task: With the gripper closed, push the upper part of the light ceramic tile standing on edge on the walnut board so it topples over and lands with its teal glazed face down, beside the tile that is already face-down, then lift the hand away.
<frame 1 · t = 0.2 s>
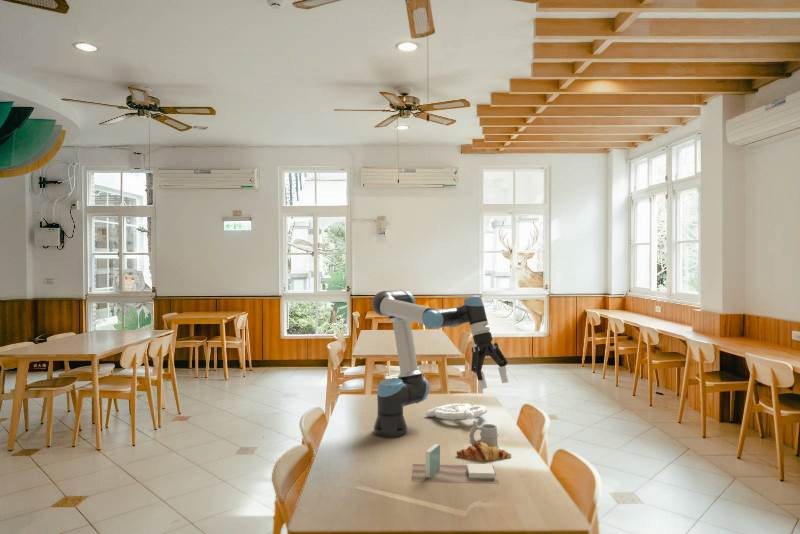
hand: (494, 385, 197), 28 cm above the table, fingers open, 13 cm apart
croissant: (484, 460, 192), on the table
board: (454, 476, 177), on the table
tile: (433, 472, 178), point 1 cm above the table, touching board
tile done: (480, 473, 177), point 1 cm above the table, touching board
mug: (483, 450, 202), on the table
white flat coiled piece: (458, 418, 245), on the table
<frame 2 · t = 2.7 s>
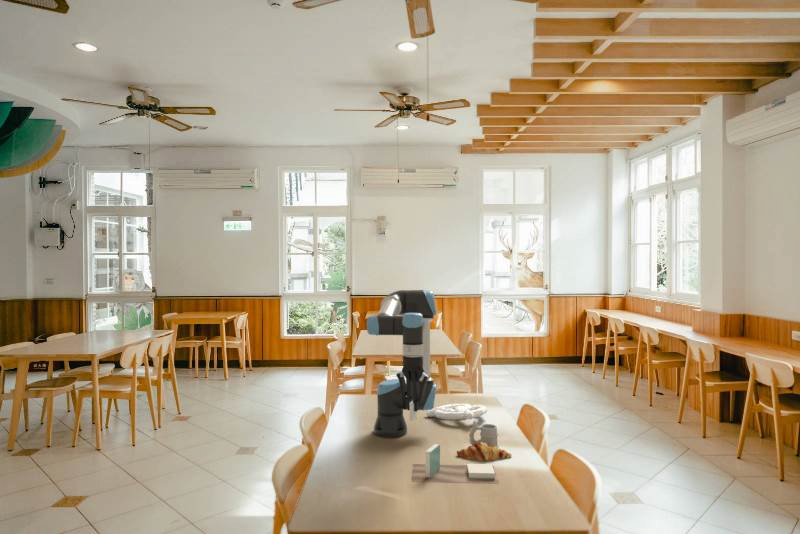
hand: (413, 419, 181), 19 cm above the table, fingers closed
nothing on the table moved.
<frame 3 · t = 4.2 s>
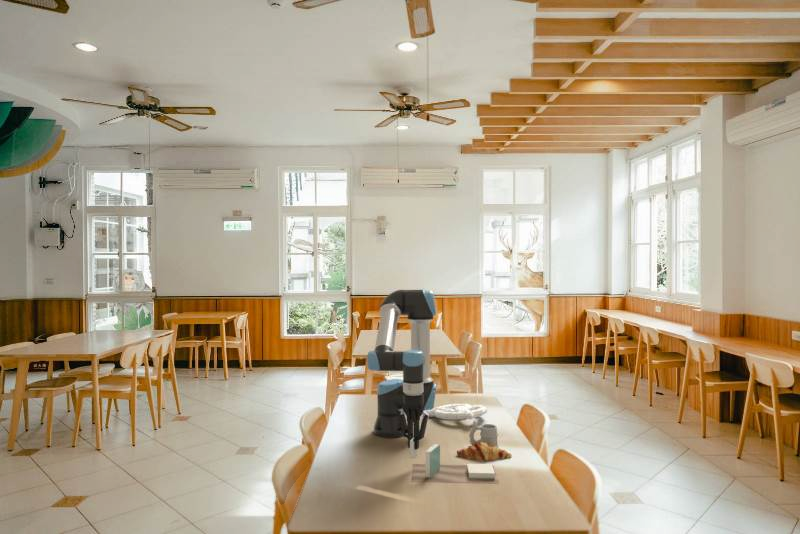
hand: (413, 457, 181), 5 cm above the table, fingers closed
nothing on the table moved.
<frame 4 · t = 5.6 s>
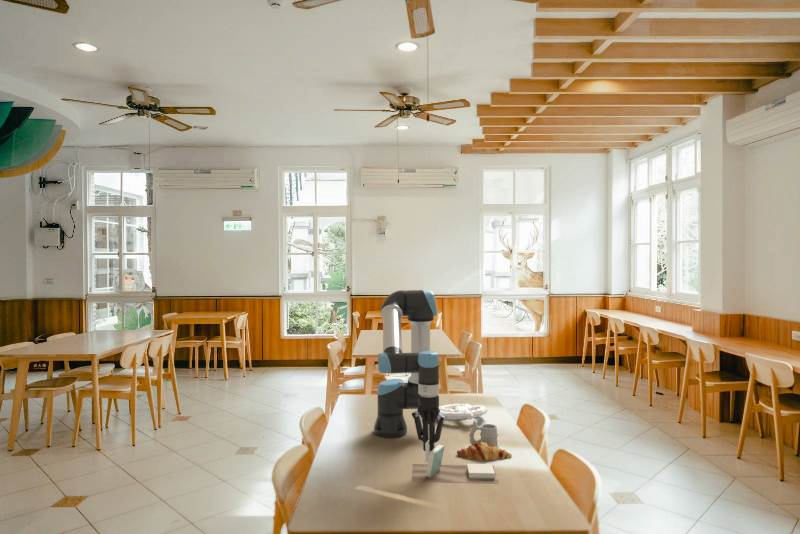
hand: (428, 460, 178), 6 cm above the table, fingers closed
tile: (433, 472, 178), point 1 cm above the table, tilted 12°, touching board, gripper
everything else where it was.
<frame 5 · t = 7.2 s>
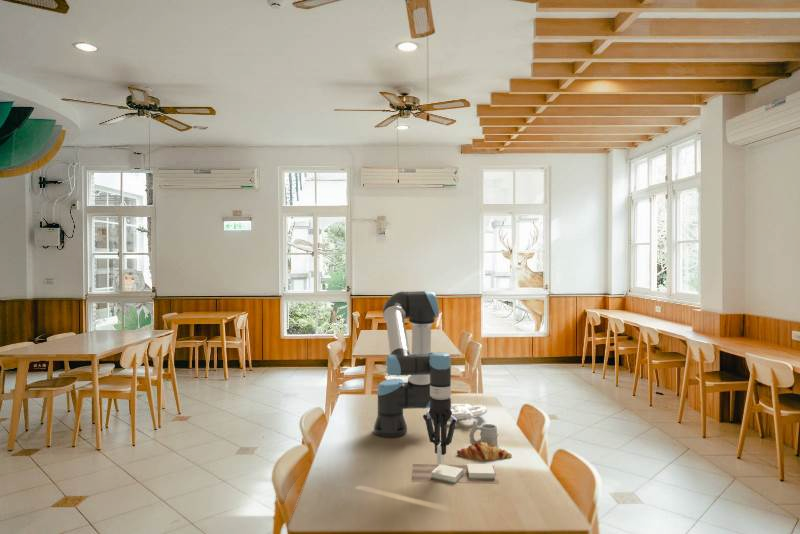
hand: (440, 462, 176), 5 cm above the table, fingers closed
tile: (435, 470, 177), point 2 cm above the table, tilted 90°, touching board
everything else where it was.
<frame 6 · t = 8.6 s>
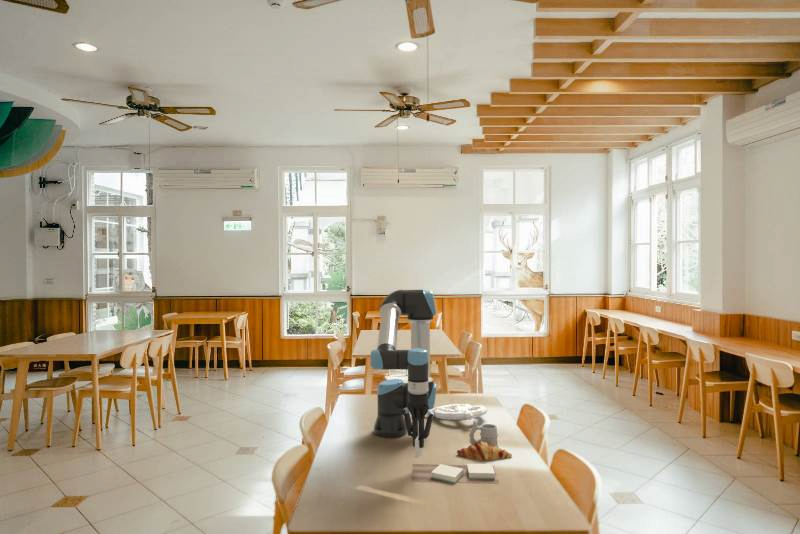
hand: (418, 455, 181), 6 cm above the table, fingers closed
nothing on the table moved.
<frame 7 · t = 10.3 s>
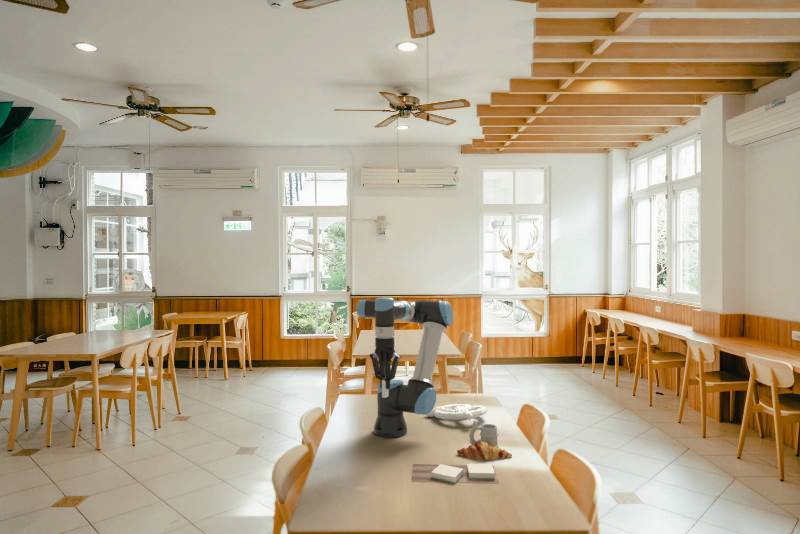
hand: (385, 396, 194), 24 cm above the table, fingers closed
nothing on the table moved.
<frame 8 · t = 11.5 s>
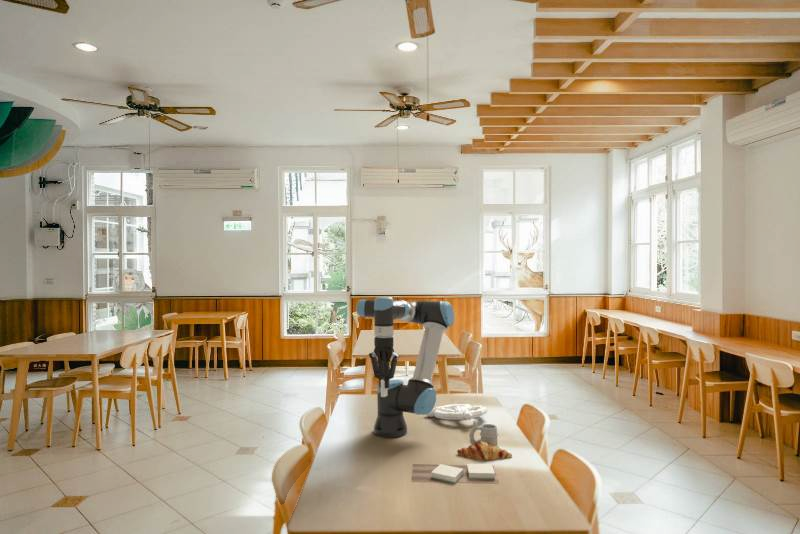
hand: (384, 396, 195), 24 cm above the table, fingers closed
nothing on the table moved.
at the end: tile tilted 90°; tile inside the target area (2.5 cm from its centre), point 2.2 cm above the table; the gripper is holding nothing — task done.
